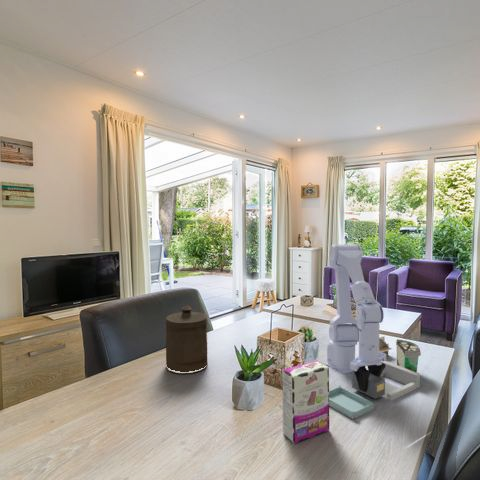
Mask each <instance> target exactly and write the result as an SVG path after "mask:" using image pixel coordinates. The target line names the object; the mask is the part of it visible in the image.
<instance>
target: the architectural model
mask: <svg viewBox="0 0 480 480" xmlns="http://www.w3.org/2000/svg"><path fill="white" fill-rule="evenodd" d="M389 346H390V345H389V343H387V342H386V340H385V335H384V336H379V352H382V353H385V354H386V356H389V351H391V350H392V349H393V348H392V347H389Z"/></svg>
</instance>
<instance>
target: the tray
mask: <svg viewBox="0 0 480 480" xmlns="http://www.w3.org/2000/svg"><path fill="white" fill-rule="evenodd" d="M329 407H331V408H332V409H334V410H335V411H338V412H339V413H341V414H343V415H344V416H346V417H348V418H350V419H351V420H352V421H354V420H356V419H357V418H359V417H361V416H363V415H364V414H367V413H369V412H371V411H373V410H375V402H373V401H371V400H369V399H367V398H364V397H363V396H361V395H359V394H357V393H355V392H353V391H351V390H349V389H347V388H345V387H343V386H341V385H338V386H335V387H333V388H331V389H330V388H329Z"/></svg>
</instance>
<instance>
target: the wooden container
mask: <svg viewBox="0 0 480 480" xmlns="http://www.w3.org/2000/svg"><path fill="white" fill-rule="evenodd" d="M165 318H166V319H165V320H166V321H165V324H166V327H165V328H166V331H165V334H166V335H165V337H166V338H165V361H166V362H165V366H166V365H167V367H168V368H170V369H171V370H175V371H180V372H189V371H195V370H199V369H201V368H204V367H205V366H206V365H207V366H208V332H207V329H208V328H207V326H208V322H207V321H208V319H207V318H208V317H207V314H205V313H203V312H197V311H192V307H191V306H189V305H184V306H183V307H181V311H179V312H175V313H172V314H169V315H167V316H166V317H165Z"/></svg>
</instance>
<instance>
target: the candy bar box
mask: <svg viewBox="0 0 480 480" xmlns="http://www.w3.org/2000/svg"><path fill="white" fill-rule="evenodd" d="M281 379H282V381H281V383H282V385H281V386H282V393H281V394H282V432H283V433H282V434H283V435H284V436H285V437H286V438H287V439H288V440H290V442H291V443H292V444H294V445H295V444H296V445H297V444H298V443H300V442H303V441H305V440H308V439H311V438H313V437H317V436H319V435H321V434H323V433H326V432H328V431H330V406H329V390H330V366H328V365H326V364H324V363H322V362H320V361H319V360H315V361H310V362H307V363H303V364H299V365H296V366H292V367H287V368H284V369H283V368H282V369H281Z"/></svg>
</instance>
